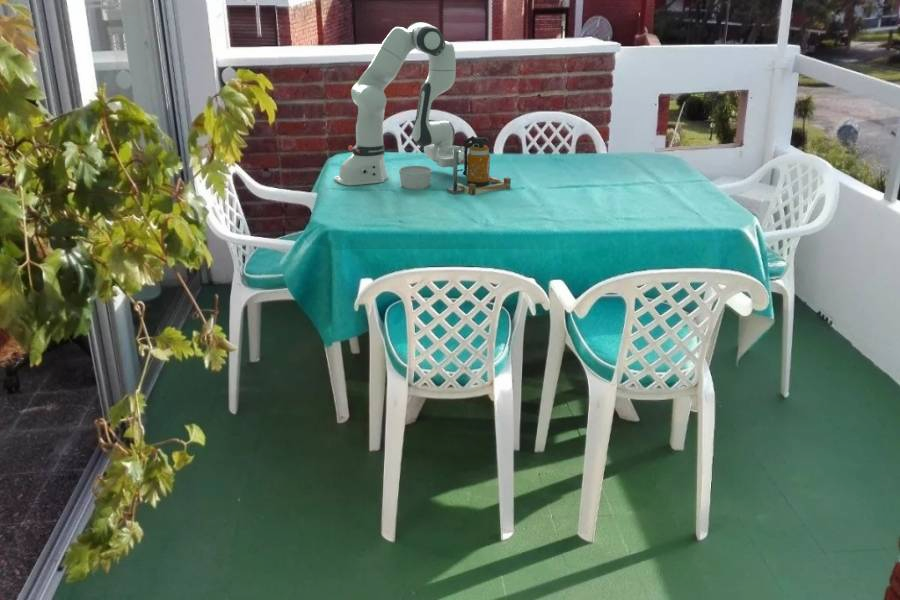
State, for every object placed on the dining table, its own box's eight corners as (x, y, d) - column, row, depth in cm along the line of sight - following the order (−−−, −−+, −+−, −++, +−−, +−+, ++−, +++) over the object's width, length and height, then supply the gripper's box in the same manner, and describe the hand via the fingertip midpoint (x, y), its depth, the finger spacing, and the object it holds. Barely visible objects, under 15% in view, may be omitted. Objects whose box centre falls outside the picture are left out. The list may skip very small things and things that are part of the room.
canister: (489, 188, 340) (490, 139, 332) (461, 187, 340) (462, 138, 332) (489, 182, 348) (490, 134, 340) (462, 181, 348) (463, 133, 340)
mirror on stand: (453, 194, 331) (453, 151, 324) (446, 191, 335) (446, 148, 328) (465, 192, 334) (466, 149, 327) (458, 189, 338) (459, 146, 331)
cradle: (452, 187, 340) (452, 178, 338) (491, 180, 350) (491, 171, 349) (471, 195, 330) (471, 185, 329) (510, 187, 340) (510, 178, 339)
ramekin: (427, 191, 335) (427, 174, 332) (395, 189, 337) (395, 172, 334) (434, 183, 347) (434, 166, 344) (403, 181, 349) (403, 164, 346)
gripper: (430, 151, 347) (449, 158, 337) (470, 145, 358) (490, 151, 347) (430, 166, 349) (449, 173, 339) (470, 160, 360) (489, 166, 350)
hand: (470, 162), depth 343 cm, fingers closed, pressing on canister
